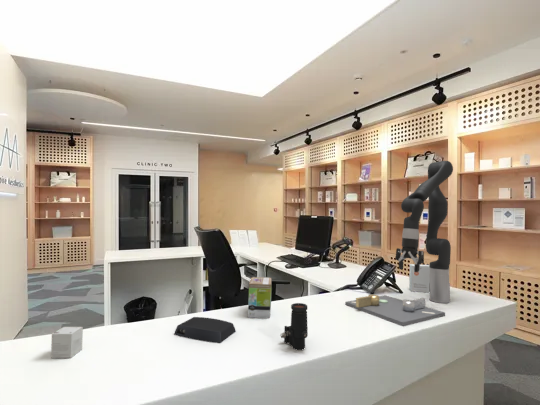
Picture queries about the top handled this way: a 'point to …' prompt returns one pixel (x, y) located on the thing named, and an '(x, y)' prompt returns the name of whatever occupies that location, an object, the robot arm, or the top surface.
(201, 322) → the external hard drive
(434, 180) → the robot arm
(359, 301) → the brass door handle
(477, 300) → the top surface
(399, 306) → the board
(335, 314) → the top surface
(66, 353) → the skincare box
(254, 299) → the tea box
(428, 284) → the skincare box
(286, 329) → the scope
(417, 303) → the chrome lever handle
